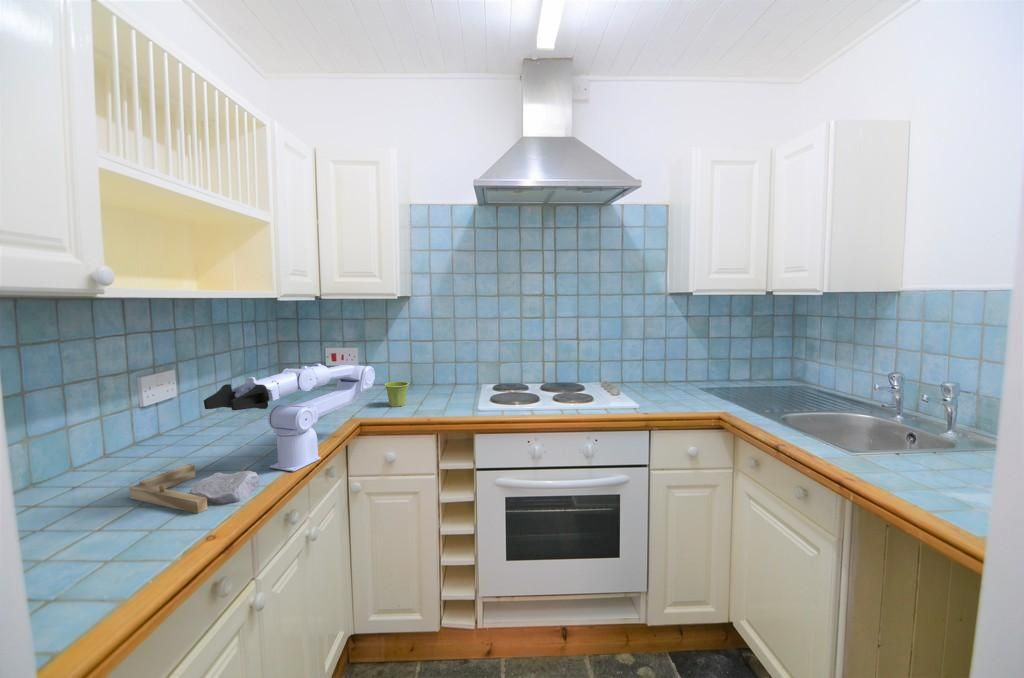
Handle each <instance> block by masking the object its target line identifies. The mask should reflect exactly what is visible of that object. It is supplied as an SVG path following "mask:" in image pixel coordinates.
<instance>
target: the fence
mask: <svg viewBox="0 0 1024 678" xmlns="http://www.w3.org/2000/svg"><path fill="white" fill-rule="evenodd" d="M193 478H196V466H195V464H191V463H188V464H185V465H183V466H180V467H177V468H174V469H171V470H168V471H165V472H162V473H160V474H156V475H154V476H152V477H149V478H146V479H144V480H140V481H138V482H139V483H138V484H136V485H133V486H129V487H128V489H129V490H128V491H129V497H130V498H129V499H131V500H136V501H140V502H144V503H149V504H152V505H153V504H154V505H159V506H161V507H162V506H163V507H166V508H172V509H176V510H179V511H180V510H181V511H185V512H190V513H193V514H200V513H203V512H204V511H206V510H208V502H207V498H206V497H201V496H196V495H191V494H190V493H185V492H179V491H175V490H172V489H171V490H170V489H168V488H170V487H173V486H176V485H179V484H181V483H183V482H186V481H188V480H191V479H193Z"/></svg>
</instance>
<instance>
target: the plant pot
mask: <svg viewBox="0 0 1024 678" xmlns="http://www.w3.org/2000/svg"><path fill="white" fill-rule="evenodd" d="M409 384H410V383H409V382H407V381H391V382H386V383H384V386H385V390H386V393H387V398H388V406H389V407H393V408H394V407H395V408H399V407H404V406H405V405H406V401H407V400H406V399H407V392H408V391H407V390H408V388H409V387H408V386H409Z"/></svg>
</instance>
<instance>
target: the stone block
mask: <svg viewBox="0 0 1024 678" xmlns="http://www.w3.org/2000/svg"><path fill="white" fill-rule="evenodd" d="M259 486H260V476H259V474H257V472H255V471H251V470H245V471H238V472H235V473H231V474H229V473H225V474H224V473H222V472H215V473H213V474H211V475H210V476H207V477H205V478H202V479H200V480H198V482H196V483H195V484H194V485H193V486H192V487H191V488H190V490H189V491H190V493H189V494H191V495H196V496H201V497H206V498H207V503H209V504H220V505H225V504H234V503H237V502H242V501H243V500H245V499H246V498H249V496H250V495H251V494H252V493H253V492H254V491H256V489H257V488H258V487H259Z"/></svg>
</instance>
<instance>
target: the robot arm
mask: <svg viewBox="0 0 1024 678" xmlns="http://www.w3.org/2000/svg"><path fill="white" fill-rule="evenodd" d="M334 379H337V384H336V390H335V391H332V392H329V393H327V394H324V395H321V396H318V397H316V398H313V399H310V400H307V401H304V402H301V403H291V404H287V405H284V404H277V405H274V406H273V407H272V408H271V409H270V411H269V412H268V415H267V421H268V425H269V426H270V428H271V429H273V433H274V434H276V435H275V436H276V449H277V450H276V451H277V462H276V463H274V464H272V465H270V466H269V467H270V468H271V469H276V470H282V471H288V472H296V471H298V470H300V469H302V468H304V467H307V466H309V465H311V464H312V463H315V462H317V461H319V460H321V459H322V458H321V457H320V456H319V449H318V436H317V432H316V431H315V429H314V428H313V427H312V426H314V425H315V424H317V423H318V419H319V417H323V416H325V415H327V414H330V413H333V412H334V411H337V410H338V409H341V408H344V407H346V406H348V405H351V404H353V403H355V402H356V401H357V400H358V399H359V397H361V396H362V394H363V393H364V392H366V391H367V390H368V389H371V388H373V385H374V383H375V382H374V381H375V379H376V371H375V368H374V367H373V366H370V365H367V366H365V365H353V364H352V365H351V364H339V365H336V366H331V367H328V366H325V365H323V364H321V363H314V364H313V366H308V365H302V366H301V368H287V367H286V368H284V369H283V370H282V372H281V373H277V374H274V375H270V376H267V377H264V378H259V379H256V377H255V376H249V377H246V382H245V383H243V384H241V385H238V386H236V387H234V388H232V384H230V383H229V384H227V383H226V384H223V385H222V386H221V388H219V390H217V392H215V393H213V394H212V395H210V396H208V397H207V398H205V399H204V400H203V404H204V409H205V410H213V409H220V408H227V409H228V408H229V409H231V411H242V410H249V409H259V410H267V409H268V407H269V403H268V402H273V401H276V400H279V399H280V398H283V397H285V396H288V395H290V394H293V393H296V392H310V391H311V390H312V389H313V388H318V387H322V386H326V385H327V384H328V383H329V382H330V380H334Z"/></svg>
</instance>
